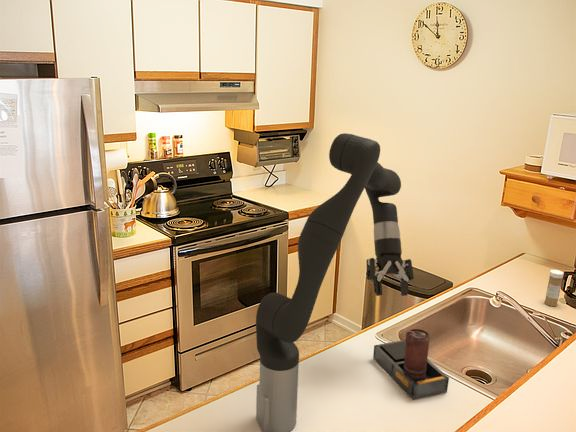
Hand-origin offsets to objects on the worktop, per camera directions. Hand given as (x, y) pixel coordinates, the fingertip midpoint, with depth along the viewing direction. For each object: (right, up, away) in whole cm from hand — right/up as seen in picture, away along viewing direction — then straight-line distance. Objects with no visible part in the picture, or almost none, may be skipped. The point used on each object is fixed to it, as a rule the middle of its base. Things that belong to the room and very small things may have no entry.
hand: (392, 295), depth 143 cm
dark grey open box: (+5, -23, +3) cm, 24 cm away
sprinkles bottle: (+71, -11, +51) cm, 89 cm away
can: (+6, -23, -1) cm, 24 cm away
